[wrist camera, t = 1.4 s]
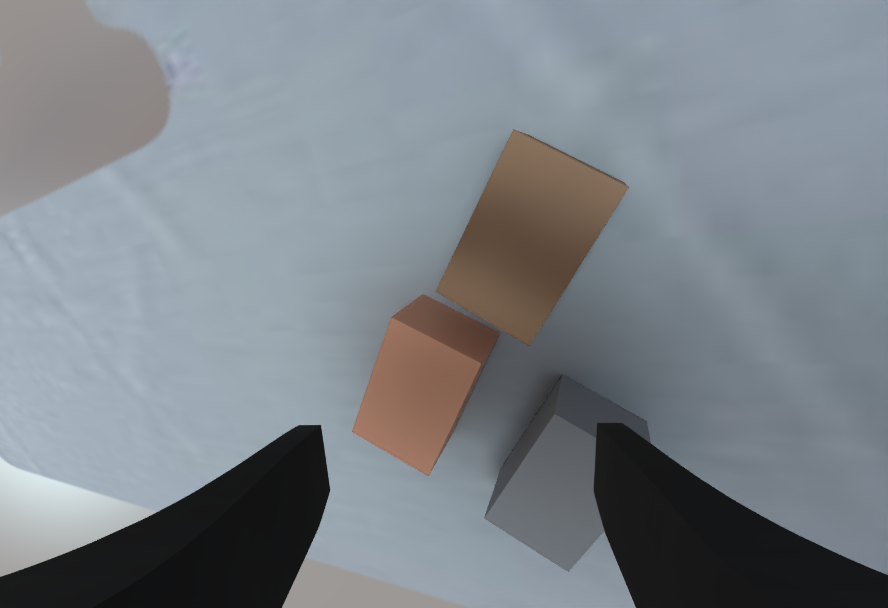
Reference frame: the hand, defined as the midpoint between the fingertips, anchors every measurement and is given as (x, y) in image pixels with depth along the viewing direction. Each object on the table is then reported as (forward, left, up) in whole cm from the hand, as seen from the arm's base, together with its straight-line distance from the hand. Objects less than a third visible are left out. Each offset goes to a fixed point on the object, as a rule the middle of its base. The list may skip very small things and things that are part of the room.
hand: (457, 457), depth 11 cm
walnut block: (-4, -2, -11) cm, 12 cm away
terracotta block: (+5, -3, -11) cm, 13 cm away
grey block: (+5, +5, -11) cm, 14 cm away
